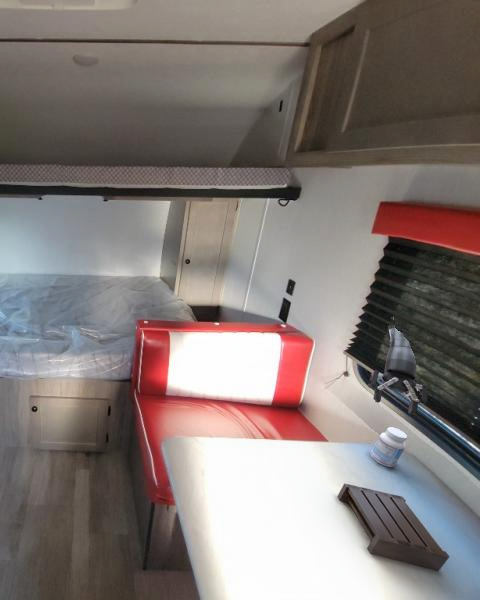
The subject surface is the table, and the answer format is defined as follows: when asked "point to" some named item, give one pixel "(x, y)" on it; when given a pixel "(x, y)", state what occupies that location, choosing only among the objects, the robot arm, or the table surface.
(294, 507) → the table surface
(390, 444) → the pill bottle
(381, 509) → the rack
